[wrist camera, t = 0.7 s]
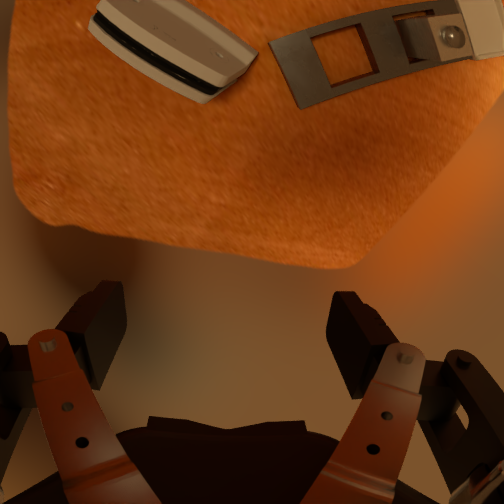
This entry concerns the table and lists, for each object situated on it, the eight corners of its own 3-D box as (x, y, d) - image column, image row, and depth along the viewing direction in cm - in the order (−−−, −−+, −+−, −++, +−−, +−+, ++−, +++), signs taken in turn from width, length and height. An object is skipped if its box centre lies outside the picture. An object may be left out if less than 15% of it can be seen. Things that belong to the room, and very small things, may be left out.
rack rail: (267, 43, 28) (269, 42, 26) (444, -1, 23) (454, -2, 21) (297, 106, 32) (300, 109, 31) (463, 56, 27) (472, 58, 25)
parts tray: (449, -5, 22) (455, -5, 21) (492, -6, 20) (499, -6, 19) (469, 59, 27) (476, 60, 26) (509, 52, 25) (516, 53, 24)
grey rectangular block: (391, 21, 26) (431, 17, 18) (421, 15, 25) (465, 13, 18) (404, 56, 28) (446, 62, 21) (433, 49, 27) (478, 55, 20)
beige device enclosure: (261, 54, 29) (241, 83, 22) (234, 83, 32) (207, 121, 26) (142, -25, 22) (87, -15, 16) (122, 7, 25) (66, 27, 19)
